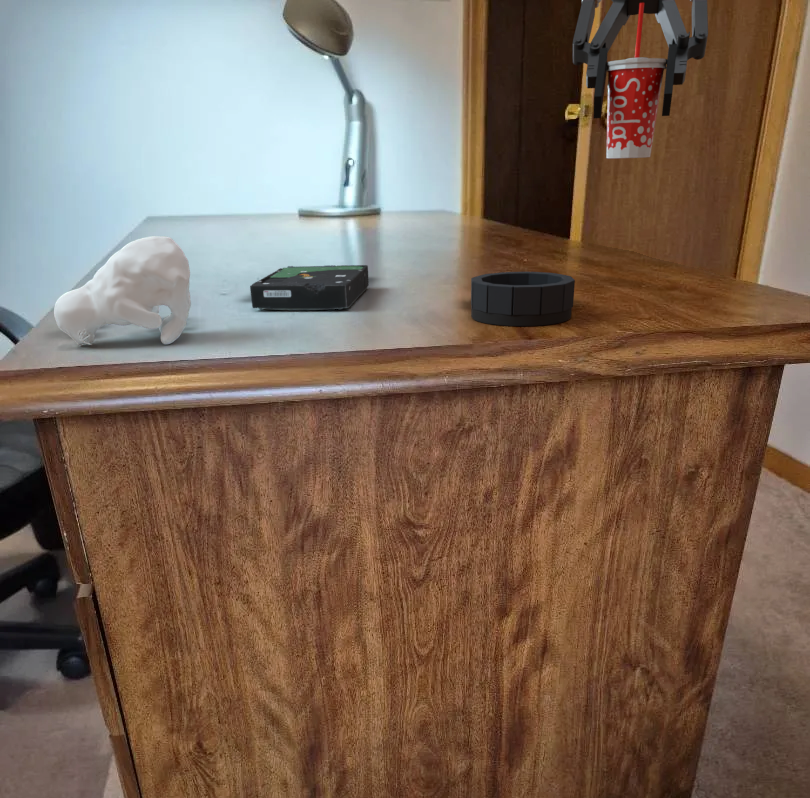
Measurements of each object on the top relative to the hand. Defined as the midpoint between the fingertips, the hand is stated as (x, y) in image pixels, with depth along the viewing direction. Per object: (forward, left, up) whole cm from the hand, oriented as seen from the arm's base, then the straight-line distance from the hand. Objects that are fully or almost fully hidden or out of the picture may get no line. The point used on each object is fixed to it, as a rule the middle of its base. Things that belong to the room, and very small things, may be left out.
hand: (631, 105), depth 80 cm
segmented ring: (-6, +17, -18) cm, 26 cm away
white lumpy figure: (+4, +52, -18) cm, 55 cm away
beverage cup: (+3, -2, -5) cm, 6 cm away
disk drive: (+15, +30, -18) cm, 38 cm away
